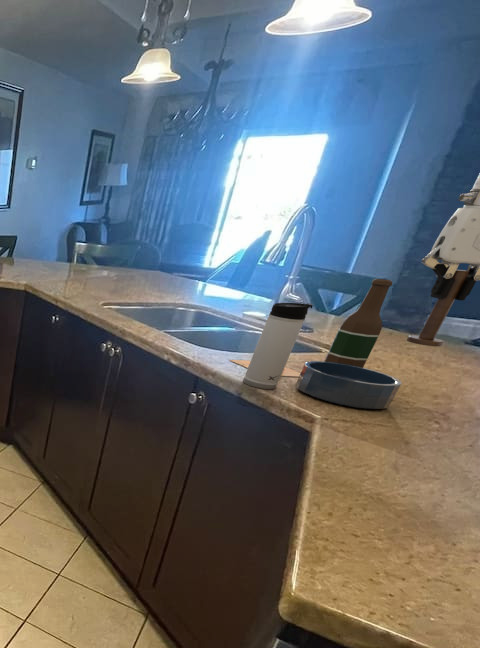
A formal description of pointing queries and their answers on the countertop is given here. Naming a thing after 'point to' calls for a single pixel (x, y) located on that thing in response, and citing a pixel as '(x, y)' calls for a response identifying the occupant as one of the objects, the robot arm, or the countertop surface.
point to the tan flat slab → (285, 373)
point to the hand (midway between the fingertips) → (447, 297)
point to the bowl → (348, 385)
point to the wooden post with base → (439, 314)
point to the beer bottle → (360, 328)
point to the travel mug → (275, 344)
